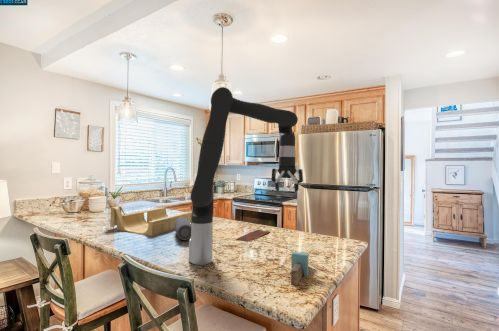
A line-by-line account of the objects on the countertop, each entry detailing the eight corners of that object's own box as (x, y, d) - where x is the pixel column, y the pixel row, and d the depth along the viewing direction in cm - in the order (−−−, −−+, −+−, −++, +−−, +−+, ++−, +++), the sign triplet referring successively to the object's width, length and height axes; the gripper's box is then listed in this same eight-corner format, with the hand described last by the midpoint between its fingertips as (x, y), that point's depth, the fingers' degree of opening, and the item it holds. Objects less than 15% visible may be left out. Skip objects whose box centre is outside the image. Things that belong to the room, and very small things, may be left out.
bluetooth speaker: (194, 241, 144) (194, 223, 144) (176, 243, 141) (176, 224, 141) (189, 231, 166) (189, 215, 166) (173, 232, 163) (174, 216, 163)
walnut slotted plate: (291, 284, 94) (291, 270, 94) (302, 265, 112) (302, 253, 112) (297, 285, 93) (297, 271, 93) (307, 265, 111) (307, 253, 111)
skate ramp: (151, 238, 154) (152, 211, 154) (110, 229, 169) (110, 204, 169) (193, 224, 190) (194, 202, 190) (156, 218, 205) (157, 197, 205)
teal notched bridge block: (291, 274, 102) (291, 253, 102) (292, 271, 105) (293, 251, 105) (307, 276, 100) (307, 255, 100) (308, 274, 102) (308, 253, 102)
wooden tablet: (257, 231, 172) (257, 228, 172) (271, 233, 166) (271, 230, 166) (233, 240, 149) (233, 237, 149) (247, 243, 144) (248, 240, 144)
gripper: (269, 155, 121) (269, 191, 121) (301, 155, 116) (300, 193, 116) (274, 156, 128) (274, 190, 128) (304, 156, 123) (303, 191, 123)
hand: (286, 191), depth 122 cm, fingers open, 8 cm apart
